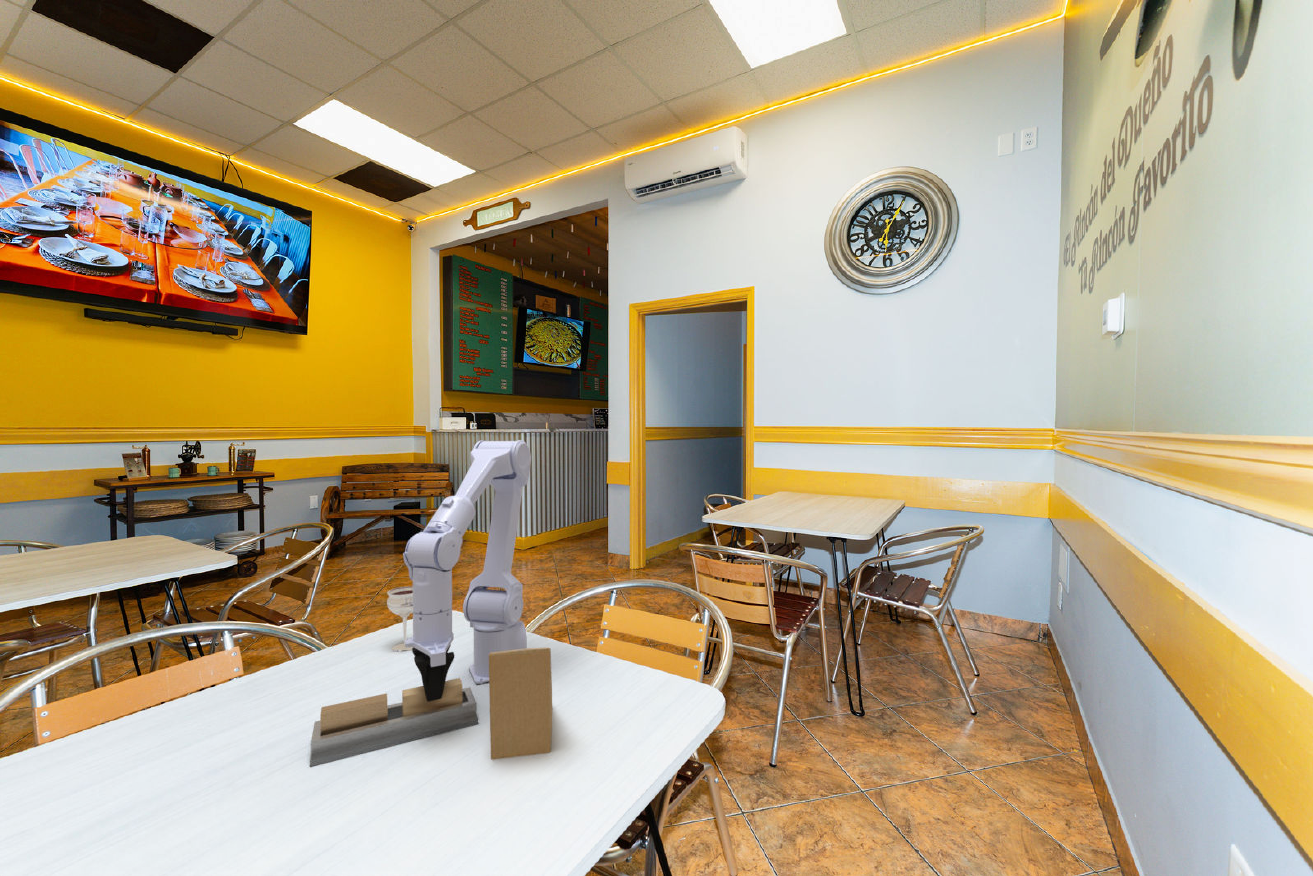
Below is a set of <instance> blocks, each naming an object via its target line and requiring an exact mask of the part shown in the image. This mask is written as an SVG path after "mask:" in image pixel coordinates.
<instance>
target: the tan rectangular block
mask: <svg viewBox="0 0 1313 876" xmlns="http://www.w3.org/2000/svg"><path fill="white" fill-rule="evenodd" d="M462 689H463V683H462V680H461V677H458V678H454V679H449V680H448V679H447V680H446V681H445V686H444V691H443V695H442V698H441V699H438V700H433V701H429V702H428V701H427V699H426V695H425V691H424V686H423V685H421V686H416V687H410V688H407V689H402V690H401V693H402V697H401V698H402V700H401V701H402V713H403V717H405V716H410V715H414V714H418V713H422V712H427V711H431V710H435V709H440V708H444V707H448V706H453V705H457V704H461V703H462Z"/></svg>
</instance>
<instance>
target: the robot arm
mask: <svg viewBox="0 0 1313 876" xmlns="http://www.w3.org/2000/svg"><path fill="white" fill-rule="evenodd" d="M469 455H470V456H469V457H470V466H469V469H468V470H467V472H466V474H465V477H464V478H463V479H462V482H461V484H460V485H459V487H458V489H457V491H456V493H455V494H454V495H450V496H447V497H445V498H444V499H443V500H442V502H441V504H440V506H439V507H438V509H436V511H435V512H434V514H433V515H432V517H431V518H430V520H429V521H428V524H427V525H426V527H424V529H423V531H420V532H418V533H416V534H414V535H412V537H410V539H408V541H407V543H406V546H405V551H404V552H403V553H402V554H403V562H404V564H405V565H406V567H407V570H408V578H409V580H410V581H412V586H413V613H412V637H411V638H406V640H405V647H413V648H412V649H411V651H412V654H413V655H414V658H413V660H414V663H415V666H416V668H417V669H418V671H419V673H420V676H421V681H422V686H424V691H425V695H426V699H427V701H428V702H429V701H433V700H438V699H441V698H442V695H443V691H444V686H445V681H447V675H448V672H449V670H450V667H451V666H452V664H453V662H454V658H455V653H454V651H450V647H451V645H452V643H453V641H454V639H455V637H454V636H455V635H454V632H453V572H452V571H453V568H454V567H455V565H456V564H457V563H458V562H459V559H460V555H461V547H462V545H463V541H464V539H463V536H464V535H465V534H466V531H467V529H468V528H469V526H470V525H471V523H472V521H473V520H474V518H475V517H476V509H475V506H474V505H475V503H476V502H477V500H478V499H479V498H480V497H481V495H482V494H483V492H484V491H486V488H487V487H488V486H492V488H493V489H494V491H495V492H494V493H495V495H494V499H493V500H494V501H493V506H492V513H491V518H490V520H491V521H490V525H489V533H488V540H487V545H486V551H485V559H484V564H483V570H482V572H481V573H480V574H479V575H477V576H475V577H474V578H473V579H471V581H470V583H469V588H468V591H467V594H466V596H465V597H464V601H463V604H462V612H463V617H464V619H465V620H466V621H467V622H469V628H473V664H471V665H468V670H469V672H470V675H471V677H472V679H473V681H474V682H475V684H477V685H480V684H484V683H487V682H488V683H489V654H490V653H492V652H500V651H508V650H516V649H528V648H527V645H528V644H527V643H528V642H527V641H528V640H527V629H526V626H525V623H524V621H522V620H520V618H521V617H522V614H523V611H524V610H523V609H524V599H523V587H524V586H523V584H522V582H521V581H519V579H517V578H516V576H514V575H513V574H512V566H513V560H514V553H515V546H516V539H517V533H518V532H517V531H518V526H519V517H520V509H521V505H522V504H521V503H522V494H523V487H525V486H526V485H528V484H529V477H530V471H531V464H532V463H531V462H532V454H531V451H530V448H529V446H528V444H527V443H526V441H525V440H523V439H518V440H483V439H482V440H478V441H477V442H476V443H475V444H474V445H473V448H472V449H471V451H470V454H469ZM488 588H501V589H503V590H501V589H500V590H499V589H488ZM449 651H450V652H449Z"/></svg>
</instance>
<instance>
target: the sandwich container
mask: <svg viewBox="0 0 1313 876" xmlns="http://www.w3.org/2000/svg"><path fill="white" fill-rule="evenodd" d="M551 653H552V652H551V648H550V647H535V648H534V647H532V648H527V649H516V650H508V651H500V652H492V653H490V654H489V682H488V685H489V686H488V687H489V689H488V690H489V692H488V693H489V729H490V730H489V733H490V760H493V761H494V760H501V759H508V758H516V757H526V756H534V755H541V754H542V755H544V754H548V753H551V751H552V750H551V749H552V746H551V745H552V730H553V729H552V728H553V682H552V681H553V680H552V654H551Z"/></svg>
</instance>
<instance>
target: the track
mask: <svg viewBox="0 0 1313 876" xmlns="http://www.w3.org/2000/svg"><path fill="white" fill-rule="evenodd" d="M477 707H478V706H477V700H476V698H475V696H474V694H473V691H472V689H471V687H466V688H462V703H461V704H457V705H453V706H448V707H444V708H440V709H435V710H431V711H427V712H422V713H418V714H414V715H410V716H405V717H403V713H402V702H397V703H393V704H389V705H388V693H382V694H378V695H372V696H368V697H364V698H360V699H359V698H358V699H354V700H349V701H345V702H338V703H336V704H330V705H326V706H322V707H321V709H320V720H316V721H314V724H313V728H312V735H311V741H310V754H311V755H310V761H309V767H313V766H319V765H322V764H325V763H330V762H334V761H337V760H338V761H339V760H341V759H345V758H349V757H354V756H357V755H361V754H364V753H365V754H366V753H368V752H373V751H377V750H380V749H385V748H388V747H392V746H396V745H400V744H406V743H408V742H412V741H417V740H421V739H424V738H429V737H432V736H436V735H439V734H443V733H448V732H451V731H455V730H460V729H463V728H467V727H470V726H475V725H479V717H478V714H477V713H478V712H477Z"/></svg>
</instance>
